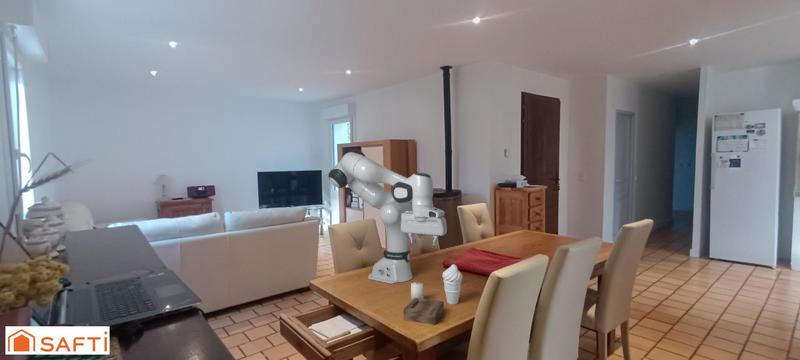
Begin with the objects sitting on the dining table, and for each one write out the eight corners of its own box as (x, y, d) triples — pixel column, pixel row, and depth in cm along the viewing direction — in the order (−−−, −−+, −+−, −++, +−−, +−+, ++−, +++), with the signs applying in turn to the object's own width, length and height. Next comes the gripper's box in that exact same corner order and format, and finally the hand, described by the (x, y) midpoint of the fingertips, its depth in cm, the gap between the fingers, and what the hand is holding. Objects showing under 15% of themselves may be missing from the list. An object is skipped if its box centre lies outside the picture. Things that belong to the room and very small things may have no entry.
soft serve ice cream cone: (449, 307, 146) (448, 268, 145) (438, 300, 153) (438, 263, 152) (466, 304, 149) (466, 265, 148) (455, 297, 157) (455, 260, 156)
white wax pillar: (409, 303, 151) (409, 283, 151) (413, 298, 156) (413, 279, 155) (421, 304, 149) (420, 284, 149) (424, 300, 154) (424, 280, 154)
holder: (403, 319, 136) (403, 309, 135) (414, 307, 147) (414, 297, 146) (435, 324, 131) (434, 313, 131) (443, 311, 142) (443, 301, 142)
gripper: (397, 211, 156) (398, 243, 157) (441, 213, 146) (442, 248, 146) (404, 209, 161) (405, 240, 162) (448, 211, 151) (448, 245, 152)
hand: (423, 244), depth 154 cm, fingers open, 8 cm apart
